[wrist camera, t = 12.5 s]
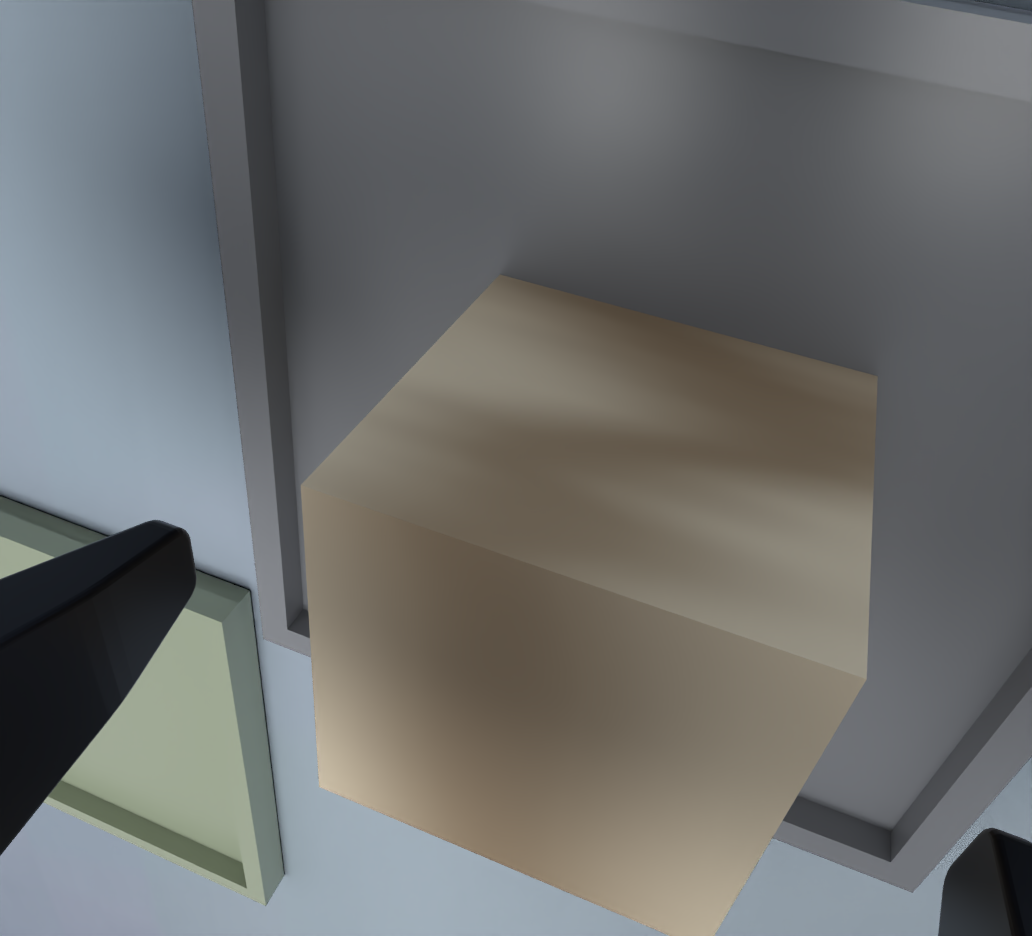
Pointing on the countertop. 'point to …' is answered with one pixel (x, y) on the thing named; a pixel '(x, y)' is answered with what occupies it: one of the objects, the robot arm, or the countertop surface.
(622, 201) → the charcoal tray
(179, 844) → the olive tray
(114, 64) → the countertop surface
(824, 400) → the birch block
